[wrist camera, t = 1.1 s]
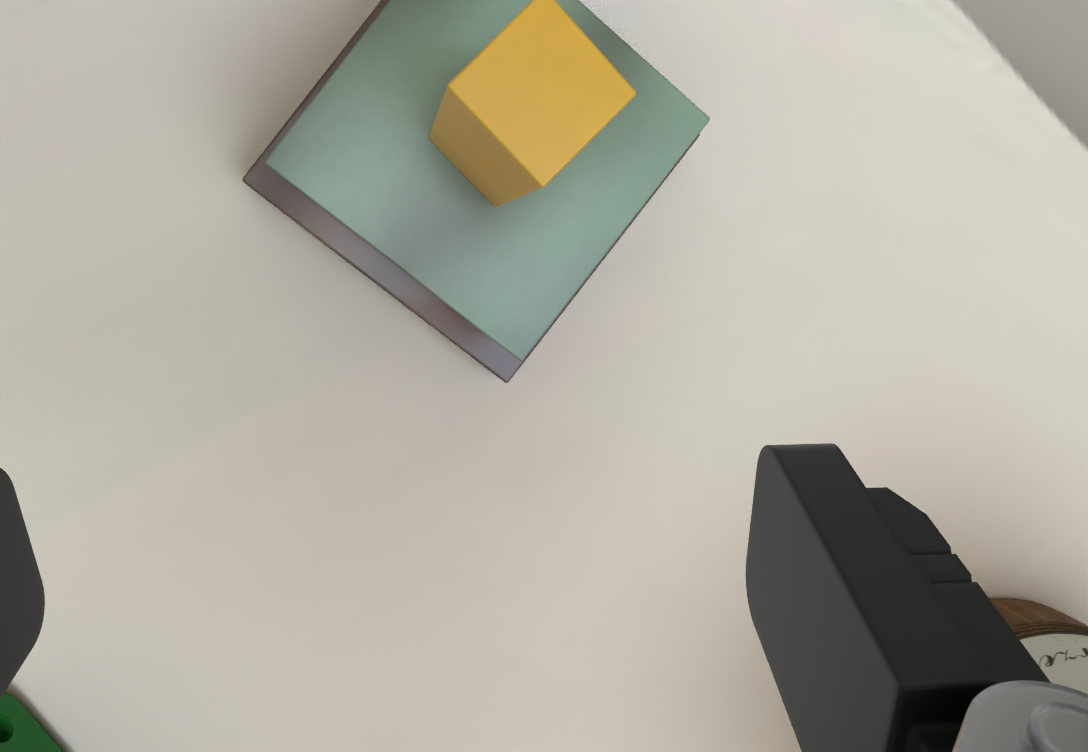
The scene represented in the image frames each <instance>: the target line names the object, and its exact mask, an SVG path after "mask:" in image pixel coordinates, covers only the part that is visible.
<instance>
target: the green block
mask: <svg viewBox="0 0 1088 752" xmlns="http://www.w3.org/2000/svg"><path fill="white" fill-rule="evenodd" d="M0 752H62V751H61V749H60V748H59V747H58V746H57V745H56V744H55V742H54V741H53V740H52V739H51V738H50V737H49V735H48V734H47V733H46V732H45V731H44V730H43V728H42V727H41V726H40V725H39V724H38V723H37V721H36V720H35V719H34V718H33V717H32V716H31V714H30V713H29V712H28V711H27V710H26V709H25V707H24V706H23V705H22V704H21V703H20V702H19V701H18V700H17V699H15V698H14V697H12V696H11V695H9V694H6V693H4V694H3V695H2V697H1V698H0Z"/></svg>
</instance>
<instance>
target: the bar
mask: <svg viewBox="0 0 1088 752" xmlns="http://www.w3.org/2000/svg"><path fill="white" fill-rule="evenodd" d="M635 96H636V91H635V90H634V89H633V87H632V86H631V85H630V84H629V83H628V82H627V81H626V80H625V78H624V77H623V76H622V75H621V74H620V73H619V72H618V71H617V69H616V68H615V67H614V66H613V65H612V64H611V63H610V62H609V60H608V59H607V58H606V57H605V56H604V55H603V54H602V53H601V51H600V50H599V49H598V48H597V47H596V46H595V45H594V44H593V42H592V41H591V40H590V39H589V38H588V37H587V36H586V35H585V33H584V32H583V31H582V30H581V29H580V28H579V27H578V26H577V24H576V23H575V22H574V21H573V20H572V19H571V18H570V17H569V15H568V14H567V13H566V12H565V11H564V10H563V9H562V8H561V6H560V5H559V4H558V3H557V2H556V1H555V0H532V1H531V2H530V3H529V4H528V5H527V6H526V7H525V8H524V9H523V10H522V11H521V12H520V13H519V14H518V15H517V16H516V17H515V18H514V19H513V20H512V21H511V22H510V23H509V24H508V25H507V26H506V27H505V28H504V29H503V30H502V31H501V32H500V33H499V34H498V35H497V36H496V37H495V38H494V39H493V40H492V41H491V42H490V43H489V44H488V45H487V46H486V47H485V48H484V49H483V50H482V51H481V52H480V53H479V54H478V55H477V56H476V57H475V58H474V59H473V60H472V61H471V62H470V63H469V64H468V65H467V66H466V67H465V68H464V69H463V70H462V71H461V72H460V73H459V74H458V75H457V76H456V77H455V78H454V79H452V80H451V81H450V82H449V83H448V86H447V88H446V91H445V94H444V96H443V99H442V102H441V105H440V107H439V110H438V113H437V115H436V118H435V121H434V124H433V126H432V129H431V132H430V134H429V139H430V140H431V141H432V142H433V144H434V145H435V146H436V147H437V148H438V149H439V150H440V151H441V152H442V153H443V154H444V155H445V156H446V157H447V158H448V159H449V160H450V161H451V162H452V163H453V164H454V165H455V166H456V167H457V168H458V169H459V171H460V172H461V173H462V174H463V175H464V176H465V177H466V178H467V179H468V180H469V181H470V182H471V183H472V184H473V185H474V186H475V187H476V188H477V189H478V190H479V191H480V192H481V193H482V194H483V195H484V196H485V197H486V199H487V200H488V201H489V202H490V203H491V204H492V205H493V206H494V207H498V206H500V205H503V204H505V203H507V202H510V201H512V200H514V199H517V198H519V197H521V196H524V195H526V194H528V193H531V192H533V191H536V190H538V189H540V188H543V187H545V186H546V185H547V184H548V183H549V182H550V181H551V180H552V179H553V178H554V177H555V176H556V175H557V174H558V173H559V172H560V171H561V170H562V169H563V168H564V167H565V166H566V165H567V164H568V163H569V162H570V161H571V160H572V159H573V158H574V157H575V156H576V155H577V154H578V153H579V152H580V151H581V150H582V149H583V148H584V147H585V146H586V145H587V144H588V143H589V142H590V141H591V140H592V139H593V138H594V137H595V136H596V135H597V134H598V133H599V132H600V131H601V130H602V129H603V128H604V127H605V126H606V125H607V124H608V123H609V122H610V121H611V120H612V119H613V118H614V117H615V116H616V115H617V114H618V113H619V112H620V111H621V110H622V109H623V108H624V107H625V106H626V105H627V104H628V103H629V102H630V101H631V100H632V99H633V98H634V97H635Z"/></svg>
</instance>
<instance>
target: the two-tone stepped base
mask: <svg viewBox="0 0 1088 752" xmlns="http://www.w3.org/2000/svg"><path fill="white" fill-rule="evenodd" d="M531 1H532V0H381V1H380V2H379V4H378V5H377V6H376V7H375V9H374V10H373V11H372V13H371V14H370V15H369V16H368V18H367V19H366V20H365V22H364V23H363V24H362V25H361V27H360V28H359V29H358V31H357V32H356V33H355V34H354V36H353V37H352V38H351V40H350V41H349V42H348V43H347V45H346V46H345V47H344V49H343V50H342V51H341V52H340V54H339V55H338V56H337V58H336V59H335V60H334V61H333V63H332V64H331V65H330V67H329V68H328V69H327V70H326V72H325V73H324V74H323V76H322V77H321V78H320V79H319V81H318V82H317V83H316V85H315V86H314V87H313V88H312V90H311V91H310V92H309V94H308V95H307V96H306V98H305V99H304V100H303V101H302V103H301V104H300V105H299V107H298V108H297V109H296V110H295V112H294V113H293V114H292V116H291V117H290V118H289V119H288V121H287V122H286V123H285V125H284V126H283V127H282V128H281V130H280V131H279V132H278V134H277V135H276V136H275V137H274V139H273V140H272V141H271V143H270V144H269V145H268V146H267V148H266V149H265V150H264V152H263V153H262V154H261V155H260V157H259V158H258V159H257V161H256V162H255V163H254V164H253V166H252V167H251V168H250V170H249V171H248V172H247V173H246V175H245V176H244V177H243V179H242V181H243V182H244V183H245V184H247V185H248V186H249V187H251V188H252V189H253V190H254V191H256V192H257V193H258V194H260V195H261V196H262V197H264V198H265V199H266V200H267V201H269V202H270V203H271V204H273V205H274V206H275V207H277V208H278V209H279V210H281V211H282V212H283V213H284V214H286V215H287V216H288V217H290V218H291V219H292V220H294V221H295V222H296V223H298V224H299V225H300V226H301V227H303V228H304V229H305V230H307V231H308V232H309V233H311V234H312V235H313V236H315V237H316V238H317V239H318V240H320V241H321V242H322V243H324V244H325V245H326V246H328V247H329V248H330V249H331V250H333V251H334V252H335V253H337V254H338V255H339V256H341V257H342V258H343V259H345V260H346V261H347V262H348V263H350V264H351V265H352V266H354V267H355V268H356V269H358V270H359V271H360V272H362V273H363V274H364V275H365V276H367V277H368V278H369V279H371V280H372V281H373V282H375V283H376V284H377V285H379V286H380V287H381V288H382V289H384V290H385V291H386V292H388V293H389V294H390V295H392V296H393V297H394V298H395V299H397V300H398V301H399V302H401V303H402V304H403V305H405V306H406V307H407V308H409V309H410V310H411V311H412V312H414V313H415V314H416V315H418V316H419V317H420V318H422V319H423V320H424V321H426V322H427V323H428V324H429V325H431V326H432V327H433V328H435V329H436V330H437V331H439V332H440V333H441V334H442V335H444V336H445V337H446V338H448V339H449V340H450V341H452V342H453V343H454V344H456V345H457V346H458V347H459V348H461V349H462V350H463V351H465V352H466V353H467V354H469V355H470V356H471V357H473V358H474V359H475V360H476V361H478V362H479V363H480V364H482V365H483V366H484V367H486V368H487V369H488V370H490V371H491V372H492V373H493V374H495V375H496V376H497V377H499V378H500V379H501V380H503V381H504V382H505V383H508V382H509V381H510V379H511V378H512V377H513V375H514V374H515V373H516V372H517V370H518V369H519V368H520V366H521V365H522V364H523V363H524V361H525V360H526V359H527V357H528V356H529V355H530V354H531V352H532V351H533V350H534V348H535V347H536V346H537V345H538V343H539V342H540V341H541V339H542V338H543V337H544V336H545V334H546V333H547V332H548V330H549V329H550V328H551V326H552V325H553V324H554V323H555V321H556V320H557V319H558V317H559V316H560V315H561V314H562V312H563V311H564V310H565V308H566V307H567V306H568V305H569V303H570V302H571V301H572V299H573V298H574V297H575V296H576V294H577V293H578V292H579V290H580V289H581V288H582V287H583V285H584V284H585V283H586V281H587V280H588V279H589V278H590V276H591V275H592V274H593V272H594V271H595V270H596V268H597V267H598V266H599V265H600V263H601V262H602V261H603V259H604V258H605V257H606V256H607V254H608V253H609V252H610V250H611V249H612V248H613V247H614V245H615V244H616V243H617V241H618V240H619V239H620V238H621V236H622V235H623V234H624V232H625V231H626V230H627V229H628V227H629V226H630V225H631V223H632V222H633V221H634V220H635V218H636V217H637V216H638V214H639V213H640V212H641V210H642V209H643V208H644V207H645V205H646V204H647V203H648V201H649V200H650V199H651V198H652V196H653V195H654V194H655V192H656V191H657V190H658V189H659V187H660V186H661V185H662V183H663V182H664V181H665V180H666V178H667V177H668V176H669V174H670V173H671V172H672V171H673V169H674V168H675V167H676V165H677V164H678V163H679V162H680V160H681V159H682V158H683V156H684V155H685V154H686V152H687V151H688V150H689V149H690V147H691V146H692V145H693V143H694V142H695V141H696V140H697V138H698V137H699V135H700V134H699V133H700V132H701V131H702V129H703V128H704V127H705V125H706V124H707V123H708V121H709V120H710V118H709V117H708V116H707V115H706V114H705V113H704V112H703V111H701V110H700V109H699V108H698V107H697V106H696V105H695V104H694V103H693V102H691V101H690V100H689V99H688V98H687V97H686V96H685V95H684V94H682V93H681V92H680V91H679V90H678V89H677V88H676V87H675V86H674V85H672V84H671V83H670V82H669V81H668V80H667V79H666V78H665V77H664V76H662V75H661V74H660V73H659V72H658V71H657V70H656V69H655V68H653V67H652V66H651V65H650V64H649V63H648V62H647V61H646V60H645V59H643V58H642V57H641V56H640V55H639V54H638V53H637V52H636V51H634V50H633V49H632V48H631V47H630V46H629V45H628V44H627V43H626V42H624V41H623V40H622V39H621V38H620V37H619V36H618V35H617V34H616V33H614V32H613V31H612V30H611V29H610V28H609V27H608V26H607V25H605V24H604V23H603V22H602V21H601V20H600V19H599V18H598V17H597V16H595V15H594V14H593V13H592V12H591V11H590V10H589V9H588V8H587V7H585V6H584V5H583V4H582V3H581V2H580V1H579V0H555V1H556V2H557V3H558V4H559V5H560V6H561V8H562V9H563V10H564V11H565V12H566V13H567V14H568V15H569V17H570V18H571V19H572V20H573V21H574V22H575V23H576V24H577V26H578V27H579V28H580V29H581V30H582V31H583V32H584V33H585V35H586V36H587V37H588V38H589V39H590V40H591V41H592V42H593V44H594V45H595V46H596V47H597V48H598V49H599V50H600V51H601V53H602V54H603V55H604V56H605V57H606V58H607V59H608V60H609V62H610V63H611V64H612V65H613V66H614V67H615V68H616V69H617V71H618V72H619V73H620V74H621V75H622V76H623V77H624V78H625V80H626V81H627V82H628V83H629V84H630V85H631V86H632V87H633V89H634V90H635V91H636V96H635V97H634V98H633V99H632V100H631V101H630V102H629V103H628V104H627V105H626V106H625V107H624V108H623V109H622V110H621V111H620V112H619V113H618V114H617V115H616V116H615V117H614V118H613V119H612V120H611V121H610V122H609V123H608V124H607V125H606V126H605V127H604V128H603V129H602V130H601V131H600V132H599V133H598V134H597V135H596V136H595V137H594V138H593V139H592V140H591V141H590V142H589V143H588V144H587V145H586V146H585V147H584V148H583V149H582V150H581V151H580V152H579V153H578V154H577V155H576V156H575V157H574V158H573V159H572V160H571V161H570V162H569V163H568V164H567V165H566V166H565V167H564V168H563V169H562V170H561V171H560V172H559V173H558V174H557V175H556V176H555V177H554V178H553V179H552V180H551V181H550V182H549V183H548V184H547V185H546V186H545V187H543V188H540V189H538V190H536V191H533V192H531V193H528V194H526V195H524V196H521V197H519V198H517V199H514V200H512V201H510V202H507V203H505V204H503V205H500V206H498V207H494V206H493V205H492V204H491V203H490V202H489V201H488V200H487V199H486V197H485V196H484V195H483V194H482V193H481V192H480V191H479V190H478V189H477V188H476V187H475V186H474V185H473V184H472V183H471V182H470V181H469V180H468V179H467V178H466V177H465V176H464V175H463V174H462V173H461V172H460V171H459V169H458V168H457V167H456V166H455V165H454V164H453V163H452V162H451V161H450V160H449V159H448V158H447V157H446V156H445V155H444V154H443V153H442V152H441V151H440V150H439V149H438V148H437V147H436V146H435V145H434V144H433V142H432V141H431V140H430V139H429V134H430V132H431V129H432V126H433V124H434V121H435V118H436V115H437V113H438V110H439V107H440V105H441V102H442V99H443V96H444V94H445V91H446V88H447V86H448V83H449V82H450V81H451V80H452V79H454V78H455V77H456V76H457V75H458V74H459V73H460V72H461V71H462V70H463V69H464V68H465V67H466V66H467V65H468V64H469V63H470V62H471V61H472V60H473V59H474V58H475V57H476V56H477V55H478V54H479V53H480V52H481V51H482V50H483V49H484V48H485V47H486V46H487V45H488V44H489V43H490V42H491V41H492V40H493V39H494V38H495V37H496V36H497V35H498V34H499V33H500V32H501V31H502V30H503V29H504V28H505V27H506V26H507V25H508V24H509V23H510V22H511V21H512V20H513V19H514V18H515V17H516V16H517V15H518V14H519V13H520V12H521V11H522V10H523V9H524V8H525V7H526V6H527V5H528V4H529V3H530V2H531Z"/></svg>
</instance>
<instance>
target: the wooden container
mask: <svg viewBox="0 0 1088 752" xmlns="http://www.w3.org/2000/svg"><path fill="white" fill-rule="evenodd" d="M990 601H991V602H992V603H993V605H994V606H995V608H996V609H997V610H998V612H999V613H1000V614H1001V616H1002V617H1003V618H1004V620H1005V621H1006V622H1007V624H1008V625H1009V626H1010V628H1011V629H1012V630H1013V632H1014V633H1015V634H1016V636H1017V637H1018V639H1019V640H1020V641H1021V643H1022V644H1023V645H1024V647H1025V648H1026V649H1027V651H1028V652H1029V653H1030V655H1031V656H1032V657H1033V659H1034V660H1035V661H1036V663H1037V664H1038V666H1039V667H1040V668H1041V670H1042V671H1043V672H1044V674H1045V675H1046V676H1047V678H1048V679H1049V680H1050V682H1051V683H1054V684H1058V685H1063V686H1066V687H1069V688H1073V689H1076V690H1079V691H1082V692H1084V693H1086V694H1088V626H1087V625H1085V624H1083V623H1081V622H1079V621H1077V620H1075V619H1073V618H1071V617H1069V616H1067V615H1065V614H1063V613H1061V612H1059V611H1057V610H1054V609H1052V608H1050V607H1047V606H1044V605H1041V604H1038V603H1034V602H1030V601H1024V600H1014V599H990Z"/></svg>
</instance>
